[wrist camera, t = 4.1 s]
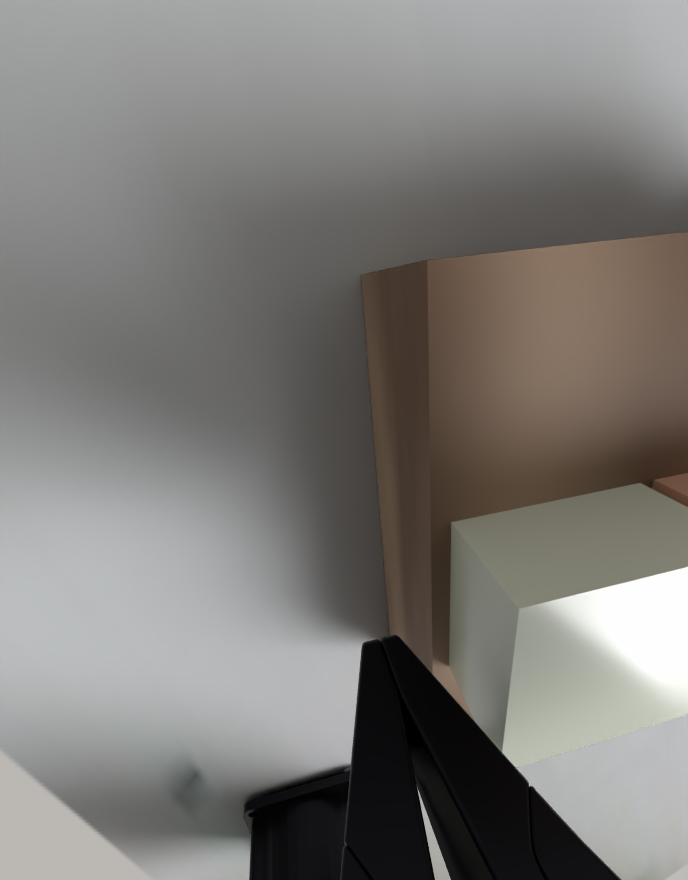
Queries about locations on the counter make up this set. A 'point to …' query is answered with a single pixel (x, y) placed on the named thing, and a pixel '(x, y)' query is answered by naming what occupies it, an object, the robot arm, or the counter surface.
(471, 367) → the brown wooden block
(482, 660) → the tile sage
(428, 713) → the robot arm
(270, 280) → the counter surface
